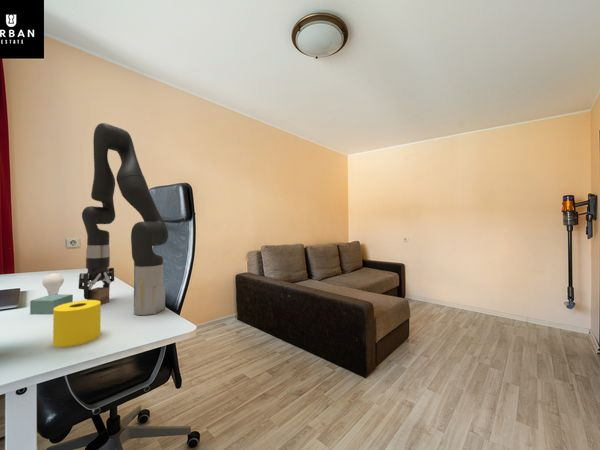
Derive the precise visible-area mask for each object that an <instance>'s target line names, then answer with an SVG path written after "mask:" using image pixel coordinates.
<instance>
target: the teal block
mask: <svg viewBox="0 0 600 450" xmlns="http://www.w3.org/2000/svg"><path fill="white" fill-rule="evenodd" d="M73 297H74V294H58V295H49V294H48V295H46V296H41V297H38V298H34V299H31V300H30V301H29V308H30V309H29V311H30V312H29V314H30V315H53V309H54V308H55V307H57V306H59V305H62V304H66V303H70V302H74V301H73V300H74V299H73Z"/></svg>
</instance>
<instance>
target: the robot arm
mask: <svg viewBox="0 0 600 450" xmlns="http://www.w3.org/2000/svg"><path fill="white" fill-rule="evenodd" d="M109 150H110V151H115V152H116V153H117V154H118V155H119V159H120V162H121V163H120V167H119V169H118V172H117V173H116V179H115V176H114V173H113V171H112V168H111V166H110V163H109V160H108V159H109V158H108V156H109V155H108V153H109ZM116 183H117V186H118V189H119V192H120V193H121V196H122V197H123V199H124V200H125V201H127V203H128V204H129V205H131V206H132V207H133V208H134V209H135V210H136V211H137V213H139V214H140V216H141V218H142V220H143V221H137V222H136V223H135V224H133V226H132V229H131V232H130V245H131V257H132V260H133V314H134V315H136V316H148V315H149V316H150V315H156V314H158V313H159V312H161V310H162V311H163V310H165V309H166V284H165V283H163V282H164V278H163V277H164V275H163V274H164V258H163V257H162V256H161V255H158V254H156V253H155V252H154V249H153V248H154V247H157V246H163V245H165V244H166V243H167V242H168V240H169V231H168V228H167V225H166V224H165V222H164V220H163V218H162V216H161V214H160V211H159V210H158V208H157V206H156V203H155V201H154V199H153V197H152V194H151V192H150V189H149V186H148V183H147V181H146V178H145V176H144V174H143V172H142V168H141V166H140V162H139V160H138V157H137V154H136V150H135V145H134V141H133V139H132V137H131V135H130V133H129V132H128V131H127V130H125V129H123V128H120V127H118V126H115V125H113V124H109V123H106V122H102V123H99V124H97V125H96V126H95V129H94V132H93V182H92V188H91V194H90V198H91V199H92V200H94V201H96V202H99V203H101V205H102V206H95V205H94V206H93V205H92V206H86V207H85V208H84V209H83V210H82V212H81V219H82V223H83V224H84V228H85V232H86V235H87V236H86V237H87V240H86V242H87V243H86V245H87V246H86V251H85V269H87V272H85V273H84V272H83V273H79V275H78V278H79V279H78V287H77V288H78V289H79V290H83V298H84V300H87V299H91V290H92V289H93V287H94V286H95V285H96V284H97V282H100V281H101V282H102V283H103V284H102V287H106V288H109V291H111V288H110V285H111V283H112V282H115V268H114V267H110V265H111V264H110V260H111V257H110V256H111V249H110V232H109V231H108V230H105V229H100V228H99V227H98V225H110V224H112V223H113V222H114V220H115V219H116V210H115V205H114V204H115V203H114V195H115V188H116ZM164 308H165V309H164Z"/></svg>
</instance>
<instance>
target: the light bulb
mask: <svg viewBox="0 0 600 450" xmlns="http://www.w3.org/2000/svg"><path fill="white" fill-rule="evenodd" d="M41 282H42V283H41V284H42V286H43V287H44V288H45V289H46V291H47V294H48V295H59V292H60V288H61V287H62V286H63V284H64V282H65V278H64V276H63V275H62V274H60V273H58V272H53V273H49V274H47V275H45V276H44V277H43V279H42V281H41Z"/></svg>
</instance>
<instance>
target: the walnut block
mask: <svg viewBox="0 0 600 450" xmlns="http://www.w3.org/2000/svg"><path fill="white" fill-rule="evenodd" d="M91 289H92V290H91V299H86V300H98V301H100V302H101V306H102V305H105V304H107V303H110V290H109V288H106V287H103V286H101V287H100V286H99V287H95V288H91Z"/></svg>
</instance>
